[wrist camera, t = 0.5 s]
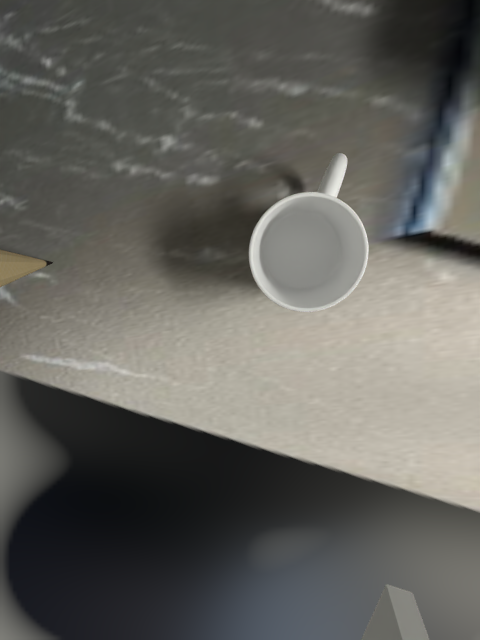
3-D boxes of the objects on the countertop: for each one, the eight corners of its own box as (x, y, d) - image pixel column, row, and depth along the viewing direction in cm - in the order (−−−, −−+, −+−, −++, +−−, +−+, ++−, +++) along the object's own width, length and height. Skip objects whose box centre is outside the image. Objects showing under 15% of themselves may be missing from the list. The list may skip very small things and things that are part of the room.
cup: (246, 277, 36) (233, 289, 26) (288, 154, 33) (291, 117, 23) (325, 304, 36) (340, 328, 26) (374, 183, 33) (413, 158, 23)
